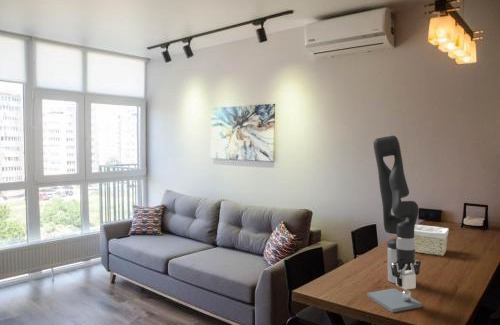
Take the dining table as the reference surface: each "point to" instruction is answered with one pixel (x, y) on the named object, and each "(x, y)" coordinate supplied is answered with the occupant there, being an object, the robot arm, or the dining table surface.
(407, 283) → the cream rounded cube
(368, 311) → the dining table surface
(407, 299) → the stub
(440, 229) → the storage basket
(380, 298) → the base plate
